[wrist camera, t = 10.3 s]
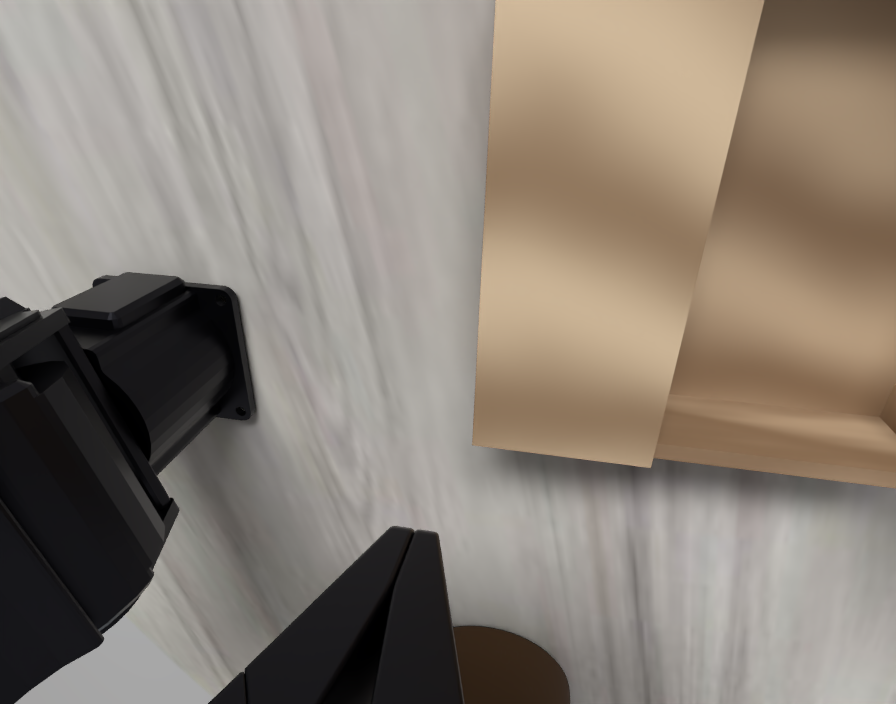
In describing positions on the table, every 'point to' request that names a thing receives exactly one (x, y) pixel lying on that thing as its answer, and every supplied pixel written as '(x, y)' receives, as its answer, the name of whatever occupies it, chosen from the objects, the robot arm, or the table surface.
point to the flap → (599, 213)
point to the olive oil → (507, 669)
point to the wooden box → (800, 260)
